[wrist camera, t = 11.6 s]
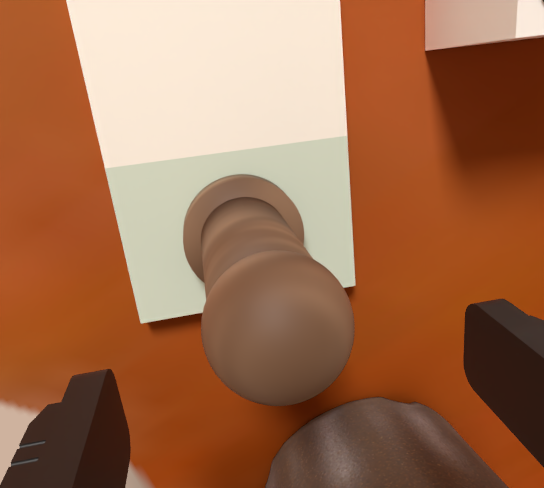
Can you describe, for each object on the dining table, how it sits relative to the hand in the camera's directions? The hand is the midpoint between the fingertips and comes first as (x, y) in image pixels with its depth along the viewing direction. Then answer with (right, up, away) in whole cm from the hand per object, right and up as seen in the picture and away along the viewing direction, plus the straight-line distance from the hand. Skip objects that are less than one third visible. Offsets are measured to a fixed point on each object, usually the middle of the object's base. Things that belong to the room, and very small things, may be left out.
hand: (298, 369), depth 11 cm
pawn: (-2, +3, +10) cm, 11 cm away
